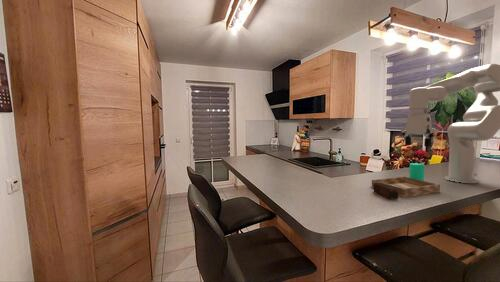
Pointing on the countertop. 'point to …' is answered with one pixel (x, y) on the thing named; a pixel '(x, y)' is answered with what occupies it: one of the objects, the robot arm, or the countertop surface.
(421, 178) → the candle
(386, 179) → the tray
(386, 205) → the countertop surface
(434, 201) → the countertop surface
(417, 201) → the countertop surface
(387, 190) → the brick
